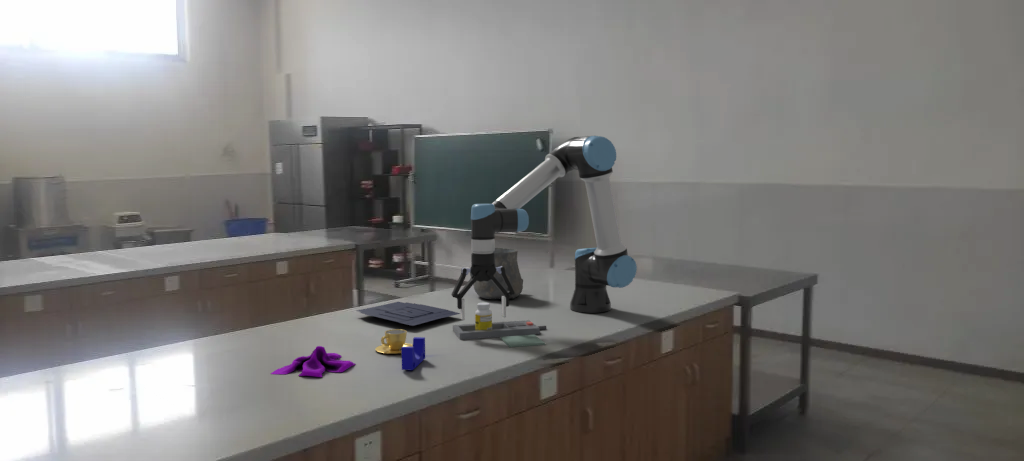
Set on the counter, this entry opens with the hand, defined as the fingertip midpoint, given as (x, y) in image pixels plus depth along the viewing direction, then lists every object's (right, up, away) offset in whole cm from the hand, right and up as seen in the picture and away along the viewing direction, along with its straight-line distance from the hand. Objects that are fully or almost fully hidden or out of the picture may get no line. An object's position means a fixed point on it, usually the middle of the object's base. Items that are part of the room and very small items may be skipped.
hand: (483, 317), depth 238 cm
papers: (-28, -4, +22) cm, 35 cm away
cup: (-25, -8, -18) cm, 32 cm away
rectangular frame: (+6, -5, +2) cm, 8 cm away
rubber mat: (+12, -6, -11) cm, 17 cm away
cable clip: (-19, -9, -34) cm, 39 cm away
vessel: (+5, 0, +60) cm, 61 cm away
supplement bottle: (0, -5, +1) cm, 5 cm away
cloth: (-45, -10, -36) cm, 58 cm away
